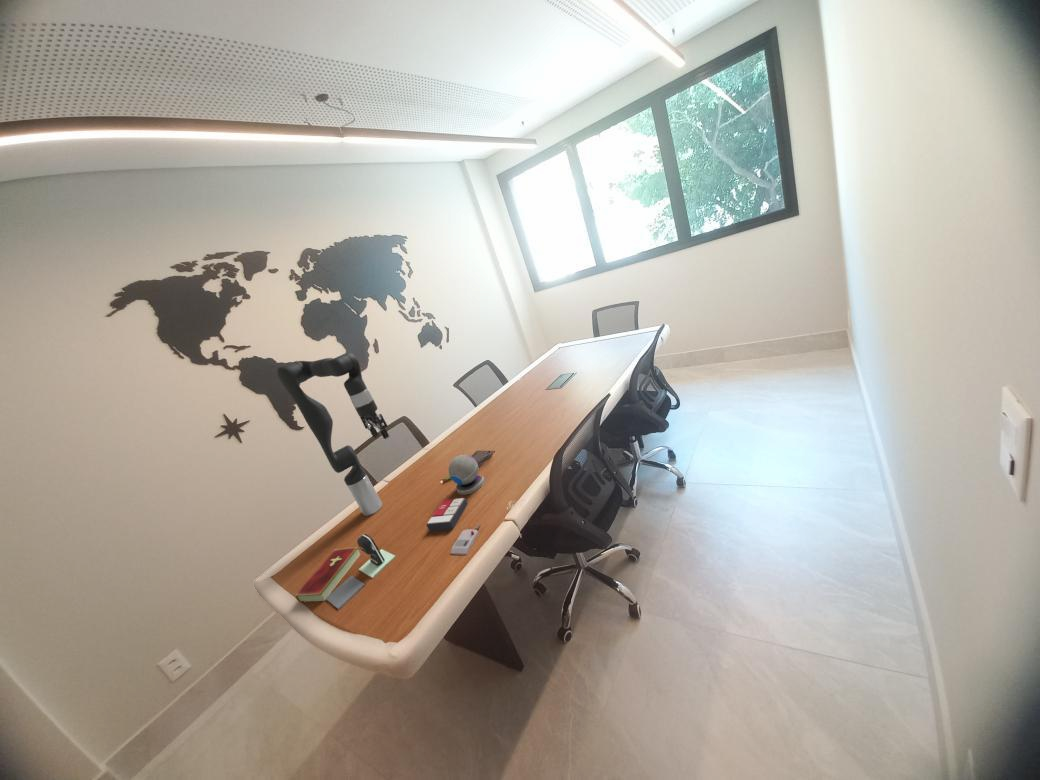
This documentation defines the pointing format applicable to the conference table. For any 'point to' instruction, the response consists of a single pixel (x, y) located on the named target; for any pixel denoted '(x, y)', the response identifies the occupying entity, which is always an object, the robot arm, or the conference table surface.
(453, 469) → the webcam
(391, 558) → the green pad
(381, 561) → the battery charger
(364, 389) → the robot arm
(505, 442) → the conference table surface
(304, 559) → the conference table surface
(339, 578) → the hardcover book
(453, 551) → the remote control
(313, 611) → the conference table surface
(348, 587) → the charcoal pad
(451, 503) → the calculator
